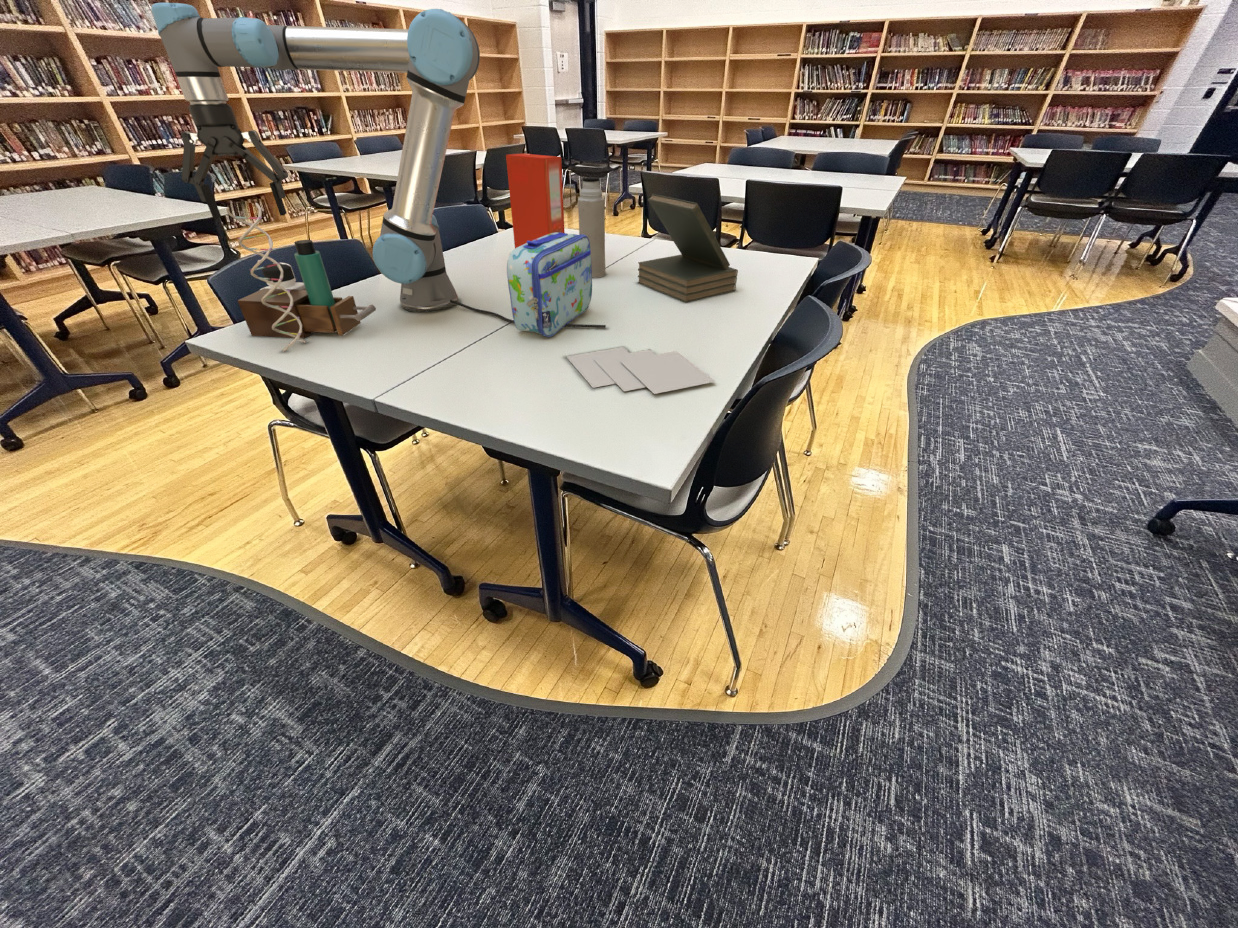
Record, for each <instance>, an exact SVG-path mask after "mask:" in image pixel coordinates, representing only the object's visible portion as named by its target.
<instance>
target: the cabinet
mask: <svg viewBox="0 0 1238 928" xmlns="http://www.w3.org/2000/svg"><path fill="white" fill-rule="evenodd" d="M263 288H264V289H262V288H260V289H261V290H260V289H258V290H257V291H255V292H254V293H251V294H249V295H247V296H244V297H242V298H239V299H237V304H238V306H239V308H240V312H241V313H242V316H243V318H244V321H245V323H246V326H247V329H248V330H249V332H250V335H251V337H266V338H267V337H269V338H289V339H290V338H292V339H295V338H294V337H292V336H289V335H286V334H282V333H279V332H277V331H274V330H273V329H272V325H273V324H274V323H275V322H276V321H277V320H278V319H279V318H280V317H281V316H282V315H283V314H284V313H285V312H282V311H280V310H278V309H275V308H272V307H268V306H266V305H264V304H263V303H262V302H261V300H262V297H263V296H265V295H266V294H267V293H268V292H269V290H270V289H269V288H265V287H263ZM286 290H290V294H291V296H292V298H293V306H292V308H291V310H290V312H291V313H293V314H294V315H295V316H296V317H299V315H298V312H297V309H296V306H295V305H296V304H298V303H300V302H302V301H303V300H305V299H307V298H308V295H307V292H306V290H295V289H286ZM283 292H285V291H284V290H282V289H275V290H274V291H273V292H272V293H271V294H270V295H269V296H272V295H276V294H277V296H274V297H270V298H267V299H265V302H266V303H267V304H270V305H273V306H279V307H280V308H282V309H284V310H286V311H287V309H288V308H284V307H281V306H287V307H289V305H290V297H289V296H288V294H287V293H284V294H281V295H278V294H280V293H283ZM269 296H268V297H269ZM292 319H295V318H294V317H293V316H291V315H289V314H288V315H287V316H286V317H285V318H284V319H283V320H281V321H280V322H279V323H278V324H280V323H283V322H284V324H282V325H279V326H276V327H275V328H276V329H278V330H281V331H284V332H289V333H290V334H291V333H297V334H298V332H299V329H300V325H299V323H298V321H297V320H294V321H291V322H287V321H289V320H292ZM299 320H300V318H299ZM300 321H301V320H300ZM285 322H286V323H285ZM313 333H315V332H307V331H304V329H303V326H302V333H301V335H300V337H299V338H301V339H305V338H307V337H309V336H310V335H312V334H313ZM295 336H297V335H295Z"/></svg>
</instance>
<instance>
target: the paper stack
mask: <svg viewBox="0 0 1238 928" xmlns="http://www.w3.org/2000/svg"><path fill="white" fill-rule="evenodd" d="M565 358H567V360H568V361H569V362H570V363H571V364H572V366H573V367H574V368H575V369H576V370H577V371H578V372H579V374H580V375H581V376H582V377H583V378H584V379H585V380H586V381H587V383H588V384H589V385H590V386H591V387H592V389H594V388H599V387H600V388H601V387H605V386H609V385H615V384H616V385H617V386H618V387H619V388H620V389H621V390H622V391H623V392H629V391H634V390H638V389H639V390H640V389H644V388H647V389H648V390H649V391H650V392H651V393H653V394H654V395H657V394H661V393H666V392H672V391H676V390H682V389H685V388H692V387H696V386H701V385H705V384H706V385H707V384H710V383H716V382H717V381H716V380H715V379H713V377H712V376H710V375H708V374H707V373H706V372H705V371H703V370H702V369H701V368H699V367H698V366H697V365H696V364H694V363H693V362H691V360H689V359H688V358H687V357H685V356H684V355H683V354H681V353H680V352H679V351H677V350H673V351H668V352H663V353H657V354H656V353H655V352H654V351H653V350H651V349H645V350H638V351H633V352H632V351H631V352H629V351H628V350H627V348H625V347H624V346H620V347H614V348H607V349H602V350H597V351H595V350H594V351H590V352H585V353H579V354H572V355H566V356H565Z"/></svg>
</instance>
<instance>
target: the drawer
mask: <svg viewBox="0 0 1238 928" xmlns="http://www.w3.org/2000/svg"><path fill="white" fill-rule="evenodd" d="M333 297H334V300H335V304H334V305H333V306H331V307H330V310H331V313H332V316H333V319H334V322H335V325H336V326H334V323H333V320H332V317H331V314H330V311H329V308H328V306H320V305H311V304H310V301H309V298H307V299H305V300H303V301H302V302H300V303H298V304H296V305H295V306H296V309H297V312H298V315H299V317H300V320H301V323H302V326H303V329H304V331H307V332H314V333H330V334H333V333H337V335H338V336H345V335H346V334H347V333H349V332H350V331H352V330H353V329H355V328H356V327H357V326H359V325H361V321H363V320H364V319H365V318H367V317H368V316H370V315H371V314H373V313H374V312H376V309H377V308H376V306H375V305H374V304H370V305H368V306H357V305H356V301H355V298H354V296H353V295H348V296H346V297H344V298H343V297H339V296H338V297H337V296H333ZM358 311H359V312H358Z"/></svg>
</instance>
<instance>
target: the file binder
mask: <svg viewBox="0 0 1238 928" xmlns="http://www.w3.org/2000/svg"><path fill="white" fill-rule="evenodd" d="M505 158H506V169H507V179H508V180H507V181H508V191H509V192H508V193H509V201H510V202H509V203H510V212H511V221H512V223H511V224H512V231H513V232H512V233H513V242H514V249H515V248H517V247H519V246H521V245H524V244H526V243H527V241H533V240H535V239H537V238H540V237H542V236H545V235H548V234H551V233H556V232H557V233H566V231H565V214H564V189H563V169H562V168H563V167H562V166H563V165H562V157H561V156H555V155H554V156H553V155H543V154H534V153H533V154H532V153H511V154H506V155H505Z"/></svg>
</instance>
